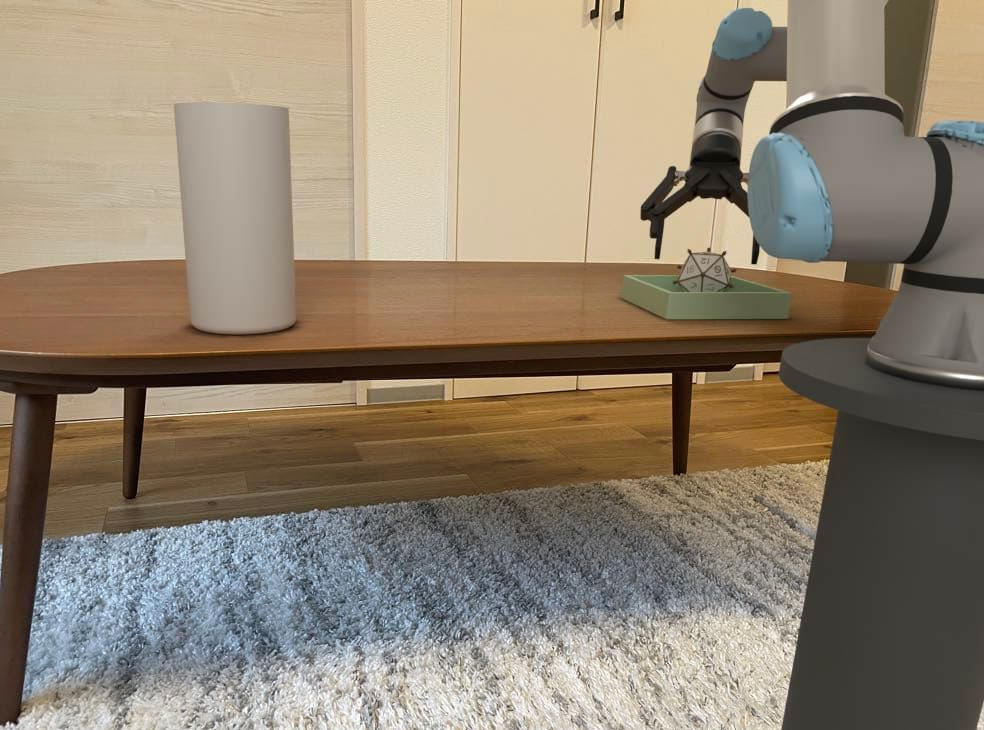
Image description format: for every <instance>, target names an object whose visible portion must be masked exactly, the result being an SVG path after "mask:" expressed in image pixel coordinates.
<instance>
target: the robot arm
mask: <svg viewBox="0 0 984 730" xmlns="http://www.w3.org/2000/svg"><path fill="white" fill-rule="evenodd" d="M889 1H890V0H787V15H786V16H787V19H786V20H787V23H786V25H787V26H773V22H772V20H771V17H770V16H769V15H768V14H766V13H765V12H764V11H763V10H755V9H754V8H753V7H741V8H740V7H739V8H737V9H734V10H731V11H729V12H728V13H727V14H726V15H725V16H724V17H723V18H722V19H721V21H720V23H719V26H718V28H717V30H716V33H715V37H714V39H713V42H712V44H711V51H710V56H709V60H708V64H707V68H706V72H705V75H704V76H703V77H702V79H701V81H700V83H699V87H698V90H697V91H698V92H697V94H696V101H695V102H696V111H695V120H694V127H693V132H692V140H691V141H692V142H691V151H690V157H689V158H690V159H689V167H688V169H687V170H685V171H684V170H677V166H675V165H671V166H669V167H668V168H667V172H666V175H665V177H664V178H663V179H662V180H661V182H659V184H658V185H657V186H656V188H654V190H653V191H652V192H651V193H650V195H648V197H647V198H646V200H644V201H643V203H642V204H641V205H640V214H639V215H640V220H641V221H643V222H645V221H649V222H650V225H649V238H650V239H655V246H654V260H660V259H661V251H662V246H663V245H662V244H663V237H664V229H665V220H666V219H667V218H668V217H669V216H671V215H672V214H674V213H675V212H676V211H678V210H679V209H680V208H682V207H683V206H684V205H686V204H687V203H691V202H693V201H694V200H695V199H697V198H698V197H699V198H700V199H703V200H706V199H714V200H722V199H723V198H725V199H726V200H727V202H728V203H730V204H734V205H735V206H736V207H737V208H738V209H739V210H740V211H741V212H742V213H744V215H745V216H747V217H748V219H749V223H750V227H751V231H752V247H751V258H750V259H751V261H750V264H751V265H758V261H759V256H760V252H761V251H760V249H761V250H763V251H764V253H765V254H767V255H768V256H770V257H772V258H775V259H781V260H794V261H802V262H805V263H808V264H816V263H821V262H832V263H833V262H835V263H838V262H839V263H865V264H893V265H897V264H899V265H903V267H902V268H903V269H902V273H901V279H900V284H899V288H898V291H897V293H896V295H895V297H893V300H892V302H891V304H890V305H889V308H888V309H887V310H886V313H885V314H884V316H883V318H882V320H881V322H880V323H879V326H878V328H877V330H876V332H875V334H874V335H872V337H870V338H871V340H870V343H869V345H868V348H867V354H866V359H865V362H866V363H867V365H869V366H870V367H872V368H873V369H875V370H878V371H880V372H883V373H885V374H889V375H892V376H895V377H899V378H903V379H906V380H911V381H915V382H920V383H925V384H930V385H936V386H943V387H949V388H957V389H965V390H975V391H984V121H974V120H942V121H941V120H940V121H937V122H935V123H933V124H932V126H930V128H929V131H928V132H927V133H926V136H906V135H905V131H904V129H905V128H904V109H903V106H902V105H901V104H900V103H899V101H897V100H895V99H894V98H892V97H890V96H888V95H887V94H886V92H885V91H886V88H885V87H886V82H885V81H886V80H885V79H886V77H885V75H886V74H885V73H886V71H885V65H886V64H885V59H886V58H885V53H886V52H885V48H886V47H885V7H886V5H887V3H888V2H889ZM755 82H786V88H785V89H786V91H785V92H786V97H785V98H786V100H785V110H784V111H782V112H781V113H780V114H778V116H777V117H776V118H775V119H774V120H773V122H772V123H771V125H770V127H769V133H768V135H765V136H763V137H762V138H761V139H760V140H759V141H758V142H757V144H756V145H755V147H754V150H753V151H752V155H751V158H750V163H749V169H748V172H743V171H742V169H741V162H742V147H743V137H744V136H743V135H744V120H745V114H746V108H747V104H748V101H749V98H750V95H751V92H752V89H753V87H754V84H755ZM682 181H684V182H685V183H684V185H683V186H682V187H680V188H679V189H677V191H675V192H674V193H672V194H671V192H672V191H673V190H674V187H678V185H679V184H680V183H681V182H682ZM742 183H745V184H746V186H747V188H746V189H747V190H745V189H744V188H743V186H742ZM670 194H671V195H670ZM668 196H669V197H668Z"/></svg>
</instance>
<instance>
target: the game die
mask: <svg viewBox="0 0 984 730" xmlns="http://www.w3.org/2000/svg"><path fill="white" fill-rule="evenodd" d="M711 250H712V248H711V247H710V246H708V247H707V248H706V251H701V252H692V249H689V248H687V251H686V252H687V254H689V255H688V257H687V258H686V260H685V261H684V262H683V264H682V265H680V264H679V265H677V266H676V267H677V269H678V270H680V271H679V274H678V275H679V277H678V280H677V281H676V280H675V281H673V282H672V283H673V284H674V285H675V284H677V283H678V284H679V285H680V287H681V288H682V290H683V291H684V292H724V291H725V290H726V289H727V287H729V288H734V287H733V285H731V284H729V283H730V277H731V276H732V273H733V274H734V273H736V272H737V271H738V270H737V268H736V269H735V268H732V269H731V267H730V265H729V264H728V262H727V261H726V258H725V256H726V255H727V250H724V251H722V252H721V254H719V253H716V252H711Z"/></svg>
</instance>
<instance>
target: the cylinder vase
mask: <svg viewBox="0 0 984 730" xmlns="http://www.w3.org/2000/svg"><path fill="white" fill-rule="evenodd" d="M173 111H174V125H175V138H176V140H175V141H176V153H177V165H178V178H179V191H180V203H181V205H180V206H181V216H182V229H183V241H184V242H183V243H184V244H183V245H184V256H185V269H186V270H185V271H186V283H187V295H188V296H187V297H188V309H189V310H188V311H189V320H190V324H191V325H192V327H194V328H195V329H196V330H199V331H202V332H205V333H209V334H216V335H233V336H235V335H238V336H239V335H240V336H241V335H242V336H243V335H260V334H269V333H274V332H279V331H283V330H285V329H289V328H290V327H291V326H293V325H294V324H295V322H296V320H297V303H296V302H297V301H296V275H295V273H296V272H295V269H296V268H295V247H294V246H295V245H294V218H293V214H294V213H293V191H292V190H293V188H292V163H291V162H292V161H291V159H292V158H291V137H290V136H291V134H290V133H291V132H290V131H291V130H290V108H289V107H286V106H285V107H284V106H279V105H268V104H257V103H256V104H255V103H254V104H253V103H239V102H238V103H237V102H209V101H208V102H207V101H206V102H205V101H204V102H201V101H200V102H199V101H198V102H197V101H196V102H177V103H174V104H173Z"/></svg>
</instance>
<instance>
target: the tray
mask: <svg viewBox="0 0 984 730" xmlns="http://www.w3.org/2000/svg"><path fill="white" fill-rule="evenodd" d="M678 277H679V274H624V275H622V286H621V287H622V288H621V299H622V300H624V301H627V302H629V303H631V304H633V305H635V306H637V307H639V308H641V309H644V310H646V311H648V312H650V313H652V314H653V315H654V314H655V315H656V316H658V317H660V318H663V319H664V320H788V319H789V317H790V310H791V304H792V297H793V292H790V291H786V290H783V289H779V288H776V287H772V286H768V285H765V284H762V283H758V282H755V281H751V280H748V279H744V278H742V277H741V278H740V277H738V276H733V275H731V277H730V283H729V284H731V285H733V287H734V288H729V287H727V289H726V290H725V291H724V292H684V291H683V290H682V288H681V287H680V285H679V284H678V283H677V284H675V285H674V284H673V283H672V282H673V281H675V280H676V281H677V280H678Z"/></svg>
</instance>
